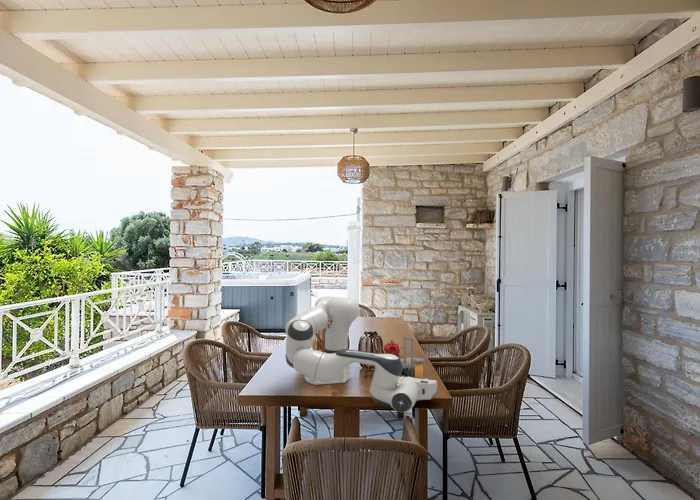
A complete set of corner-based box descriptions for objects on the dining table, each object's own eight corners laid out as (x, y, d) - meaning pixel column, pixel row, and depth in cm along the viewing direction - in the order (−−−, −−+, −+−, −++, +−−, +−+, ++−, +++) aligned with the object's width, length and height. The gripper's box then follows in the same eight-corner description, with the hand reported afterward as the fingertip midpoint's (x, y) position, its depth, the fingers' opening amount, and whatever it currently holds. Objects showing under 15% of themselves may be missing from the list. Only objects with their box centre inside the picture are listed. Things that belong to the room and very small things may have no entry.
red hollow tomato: (379, 355, 236) (379, 340, 236) (391, 353, 243) (391, 337, 243) (391, 358, 229) (391, 342, 229) (403, 355, 235) (403, 339, 235)
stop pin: (417, 388, 177) (417, 361, 178) (411, 384, 182) (411, 358, 182) (426, 386, 179) (426, 360, 180) (420, 383, 184) (420, 357, 184)
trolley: (392, 381, 186) (392, 341, 187) (383, 376, 195) (383, 337, 195) (416, 378, 192) (415, 339, 192) (406, 373, 200) (405, 335, 200)
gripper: (383, 394, 160) (391, 383, 173) (434, 400, 154) (438, 388, 167) (383, 378, 160) (391, 369, 173) (434, 383, 154) (438, 373, 167)
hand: (414, 378), depth 170 cm, fingers open, 8 cm apart
